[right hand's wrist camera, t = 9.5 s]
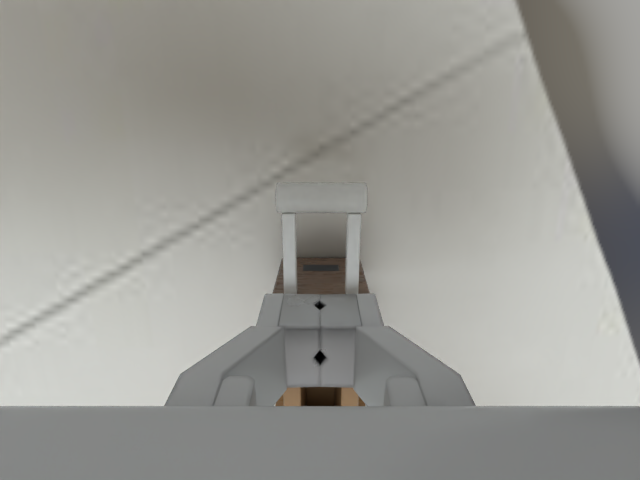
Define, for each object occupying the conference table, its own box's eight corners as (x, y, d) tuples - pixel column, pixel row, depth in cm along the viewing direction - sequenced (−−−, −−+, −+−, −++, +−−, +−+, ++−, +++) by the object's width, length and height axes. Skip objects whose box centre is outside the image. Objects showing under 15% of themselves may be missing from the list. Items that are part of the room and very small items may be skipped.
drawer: (279, 169, 20) (258, 194, 14) (363, 169, 20) (385, 194, 14) (288, 467, 27) (277, 587, 20) (351, 467, 27) (362, 587, 20)
